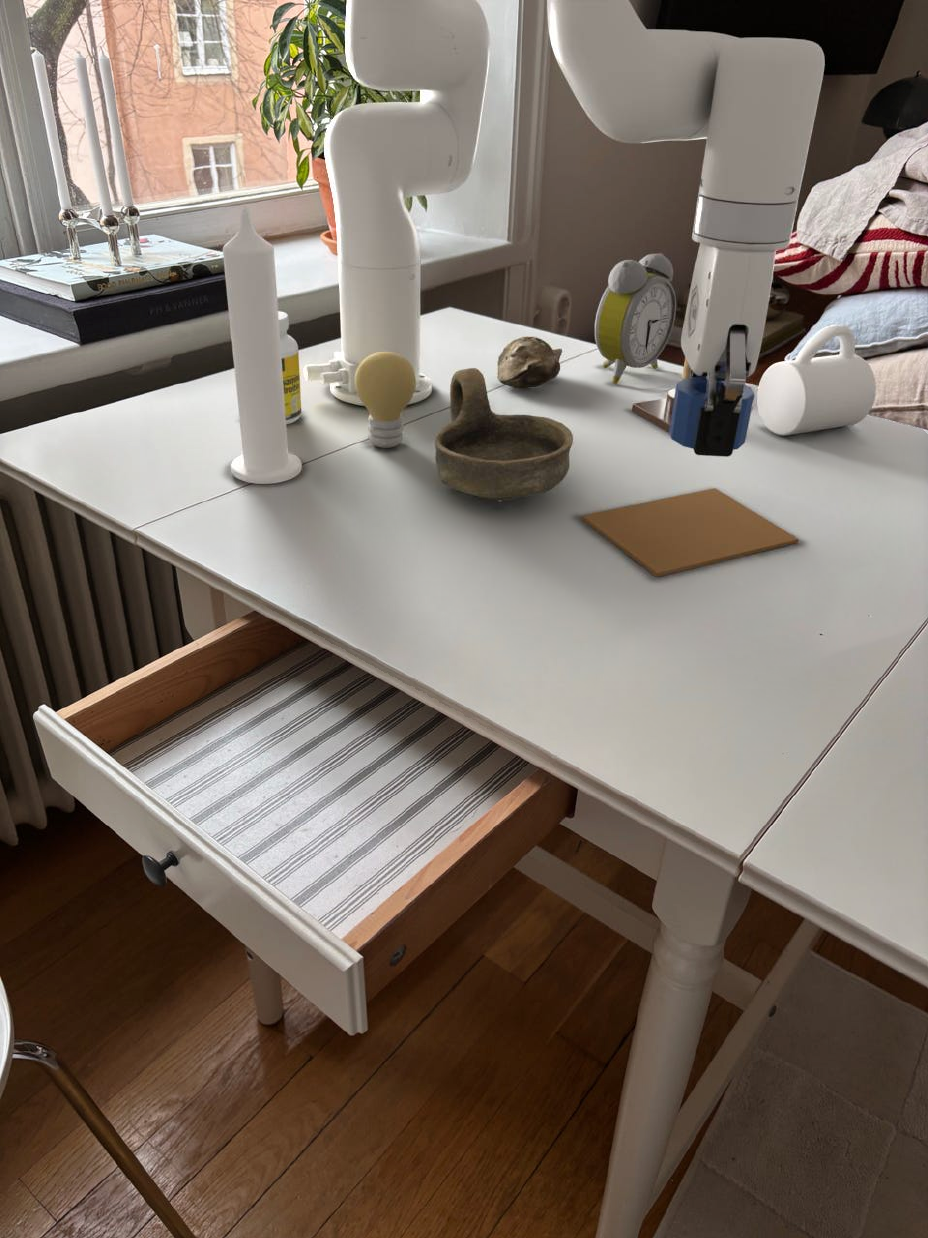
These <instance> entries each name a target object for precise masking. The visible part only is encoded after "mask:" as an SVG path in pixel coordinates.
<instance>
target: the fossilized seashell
mask: <svg viewBox="0 0 928 1238" xmlns="http://www.w3.org/2000/svg"><path fill="white" fill-rule="evenodd" d="M562 353H563V349H562V348H556V349H553V348H552V347H551V345H550V344H549V343H548V342H546V341H545V340H544V339H542V338H540V337H537V336H521V337H519V338H516V339H513V340H512V341H511V342H509V343H508V344H507V345H506V346H505V347H504V348H503V349H502V352H501V353H500V354H499V355H498V359H497V377H496V378H497V380H498V382H499V383H500V384H502V385H505V386H508V387H512V388H513V389H520V390H527V389H533V388H537V387H541V386H543V385H544V384H546V383H547V382H549V381H552V380H553V379H555V378H557V376H558V375H559V374H560V371H561V363H560V358H561V356H562Z"/></svg>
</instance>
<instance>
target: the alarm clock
mask: <svg viewBox="0 0 928 1238" xmlns="http://www.w3.org/2000/svg"><path fill="white" fill-rule="evenodd" d="M673 277H674V269H673V265H672V263H671V261H670V259H668V258H667V257H666V256H665V254H664V253H662V252H659V253H650V254H646V255H645V256H644V257H642V258H641V259H639V261H637V260H634V259H625V260H622V261H619V262H618V263H617V264H615V265H614V266H613V268H612V269H611V270H610V273H609V275H608V279H607V280H608V283H607V284H608V285H607V286H606V287H607V288H606V289H605V290H604V293H603V294H602V296H601V299H600V301H599V305H598V308H597V311H596V313H595V320H594V341H595V344H596V347H597V350H598V351H599V353H600V355H601V356H602V357H603V358H605V359H604V361H603V364H602V367H603V368H604V369H607V368H609V367H610V366H611V365H613V364H614V365H613V375H612V380H611V381H612V383H613V384H615V385H617V384H619V382H620V379H621V377H622V375H623V373H624V372H625V370H626V368H627V367H629V368H635V369H642V368H646V367H648V366H649V365H650V367H651V368H652V369H653V370H656V369H658V368H659V365H658V357H660V355H661V354H662V352H663V351H664V349H665V348H666V346H667V344H668V342H669V340H670V338H671V333H672V331H673V329H674V326H675V319H676V314H677V313H676V311H677V298H676V293H675V289H674V287H673V285H672V283H671V282H672V280H673Z"/></svg>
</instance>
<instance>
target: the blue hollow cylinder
mask: <svg viewBox="0 0 928 1238" xmlns="http://www.w3.org/2000/svg"><path fill="white" fill-rule="evenodd" d="M706 385H707V376H699V377H692V378H685V379H683V380H682V379H681V380H680V381H678V382H676V384H675V388H676V390H675V397H674V403H673V410H672V416H671V423H670V429H669V432H668V433H669V436H670V439H671V440H672V441H673V442H676V443H677V444H679V445H680V446H682V447H685V448H689V449H691V450H692V449H693V450H694V443H695V437H696V431H697V425H698V419H699V413H700V408H705V397H706ZM720 385H723V386H724V381H716V387H715V393H716V390H717V389H718V388H719V386H720ZM742 395H743V397H742V403H741V410H740V416H739V421H738V426H737V432H736V437H735V442H734V447H733V451H734V450H735V451H736V450H739V449H740V448H741V447H742V446H743V445H744V444H745V443H746V440H747V433H748V429H749V424H750V419H751V413H752V409H753V404H754V399H755V392H754V390H753V389H752V387H751V386H750V385H747V384H745V386H744V388H743V393H742Z"/></svg>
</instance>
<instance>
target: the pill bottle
mask: <svg viewBox="0 0 928 1238" xmlns="http://www.w3.org/2000/svg"><path fill="white" fill-rule="evenodd" d="M278 317H279V331H280V345H281V360H282V374H283V388H284V403H285V417H286V425H290V424H292V423H294V422H296V421H297V420H299V419H300V417H301V415H302V395H301V371H300V356H299V355H300V354H299V345H298V343H297V341H296V339H294V338H293V337H292V336H291V335H289V334H288V332H287V331H288V330H289V329H290V320H289V315H288V314H287V313H286V312H285V311H281V310H278Z"/></svg>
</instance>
